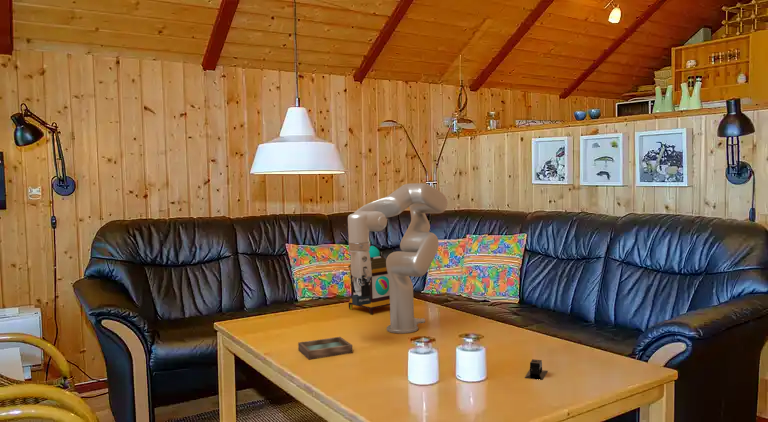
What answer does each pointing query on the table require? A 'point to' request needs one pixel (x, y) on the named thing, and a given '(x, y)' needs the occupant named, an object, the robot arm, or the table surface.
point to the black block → (536, 370)
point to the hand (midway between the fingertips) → (361, 293)
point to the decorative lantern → (376, 282)
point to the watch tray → (325, 348)
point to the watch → (359, 294)
